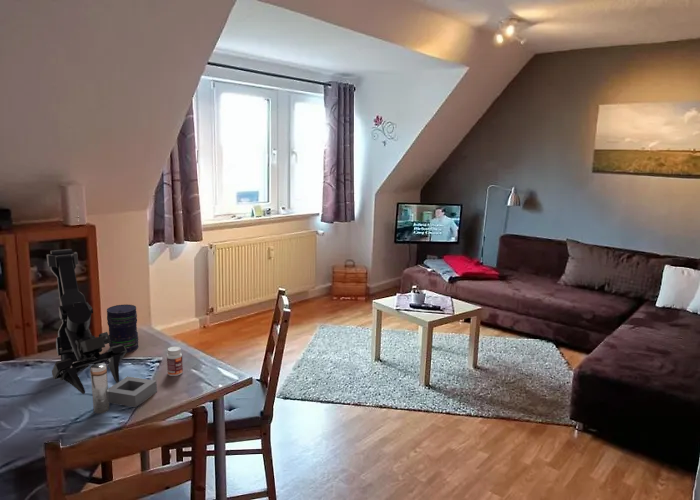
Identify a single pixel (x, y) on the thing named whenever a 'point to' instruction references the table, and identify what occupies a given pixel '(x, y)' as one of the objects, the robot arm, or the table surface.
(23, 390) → the table surface
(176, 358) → the pill bottle
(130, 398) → the socket block
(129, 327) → the storage jar
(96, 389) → the frosted bottle
